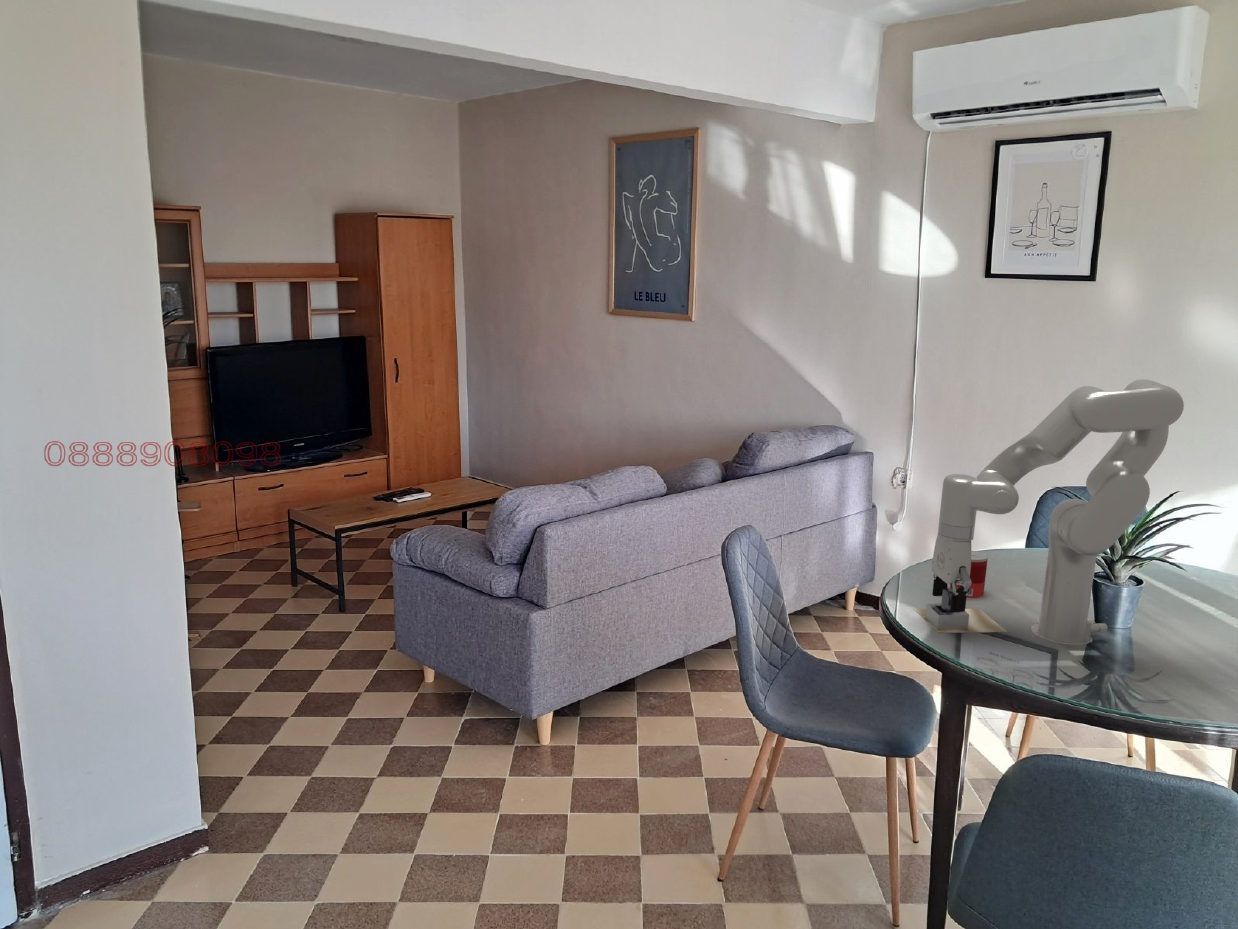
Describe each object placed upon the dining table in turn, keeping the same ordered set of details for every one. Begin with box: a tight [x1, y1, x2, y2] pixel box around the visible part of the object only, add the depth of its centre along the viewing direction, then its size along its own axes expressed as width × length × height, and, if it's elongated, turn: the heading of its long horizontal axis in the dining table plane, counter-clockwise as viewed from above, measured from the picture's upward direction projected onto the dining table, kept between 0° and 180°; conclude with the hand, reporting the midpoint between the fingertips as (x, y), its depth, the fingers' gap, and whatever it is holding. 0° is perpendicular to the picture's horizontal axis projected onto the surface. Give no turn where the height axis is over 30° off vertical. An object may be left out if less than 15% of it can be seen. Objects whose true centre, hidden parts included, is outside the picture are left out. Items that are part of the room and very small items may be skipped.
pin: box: [940, 587, 954, 613], centre depth 215 cm, size 3×3×8 cm
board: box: [913, 608, 1008, 634], centre depth 218 cm, size 16×14×1 cm
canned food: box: [949, 550, 989, 599], centre depth 236 cm, size 8×8×11 cm
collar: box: [925, 602, 969, 630], centre depth 216 cm, size 7×7×4 cm
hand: (948, 603), depth 215 cm, fingers open, 9 cm apart
